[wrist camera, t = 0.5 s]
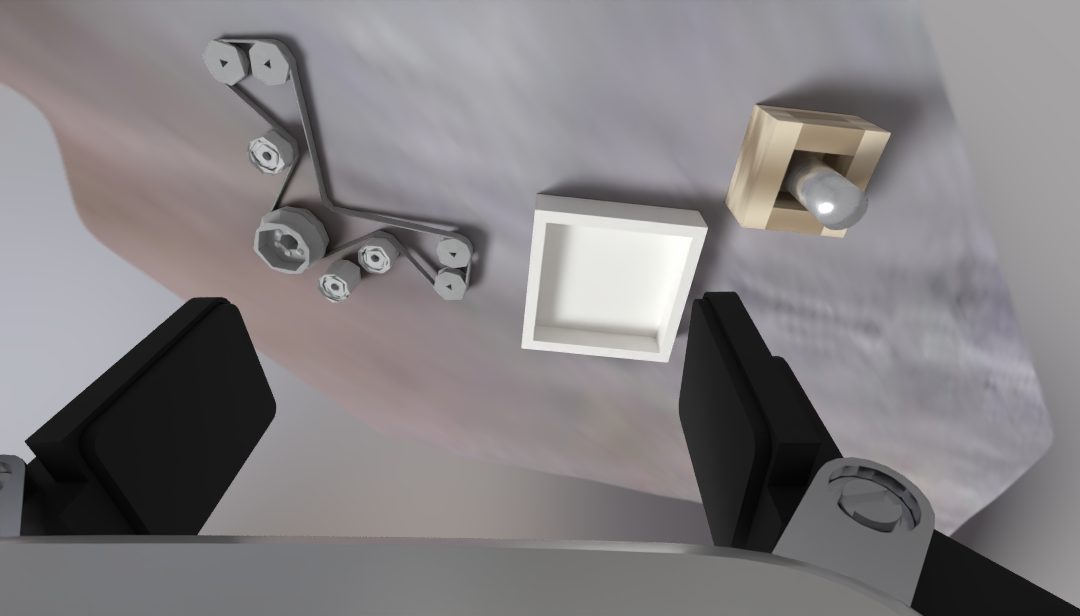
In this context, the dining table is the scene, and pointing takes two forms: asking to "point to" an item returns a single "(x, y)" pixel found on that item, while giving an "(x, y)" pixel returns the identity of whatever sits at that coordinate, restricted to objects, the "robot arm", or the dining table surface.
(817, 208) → the pin
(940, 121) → the dining table surface
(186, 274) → the dining table surface
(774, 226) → the tan hollow square block
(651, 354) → the tray
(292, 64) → the pulley system
